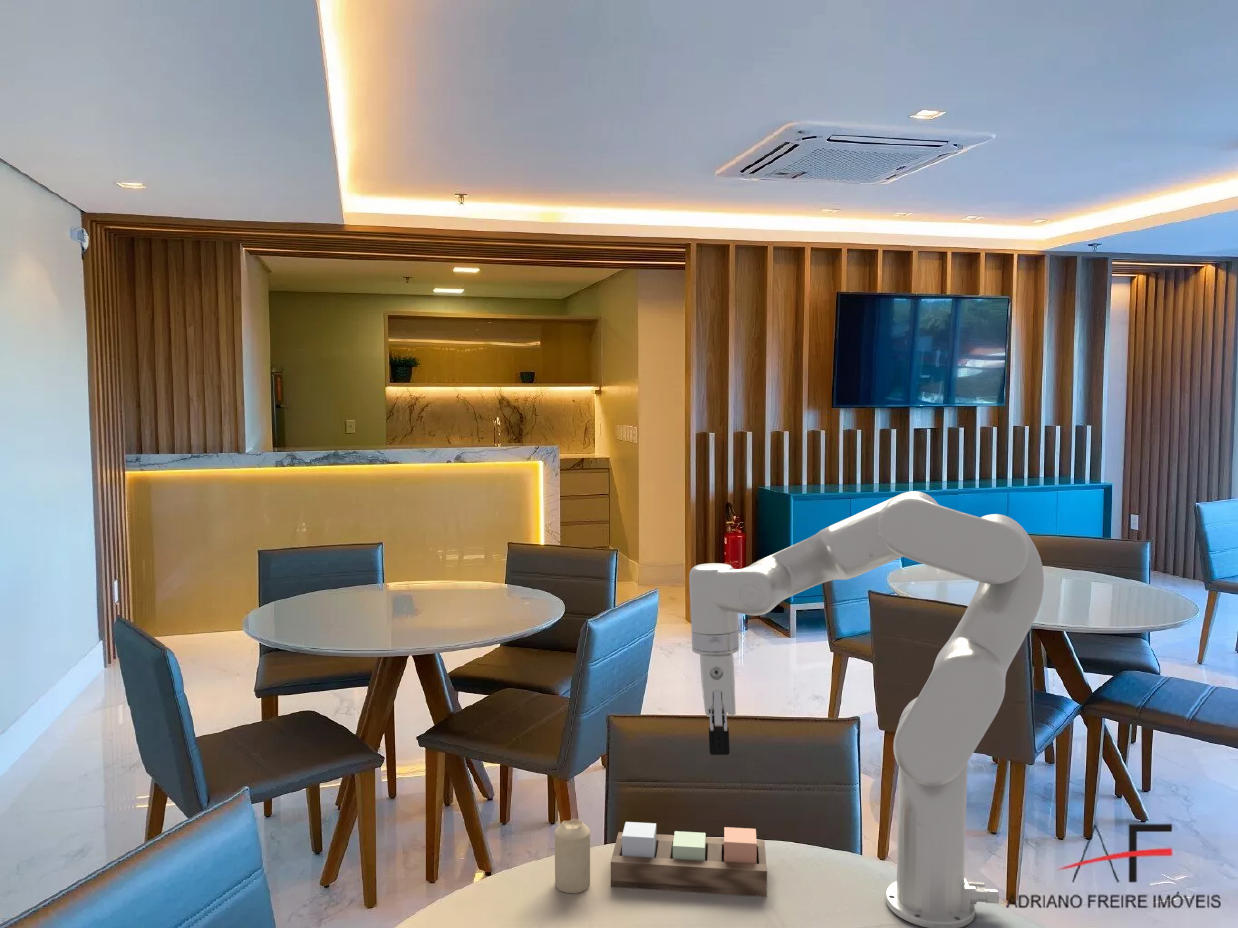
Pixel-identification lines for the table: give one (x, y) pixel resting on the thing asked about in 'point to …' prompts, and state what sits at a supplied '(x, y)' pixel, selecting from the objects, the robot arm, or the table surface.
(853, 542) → the robot arm
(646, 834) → the greyblue button
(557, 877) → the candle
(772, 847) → the table surface
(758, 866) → the button panel
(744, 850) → the terracotta button
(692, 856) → the sage button
